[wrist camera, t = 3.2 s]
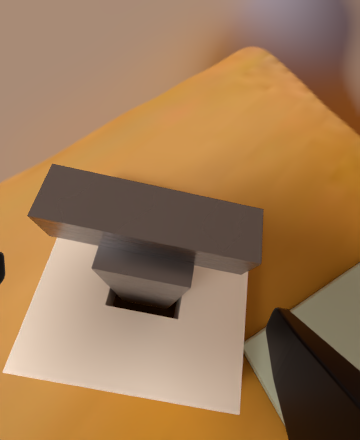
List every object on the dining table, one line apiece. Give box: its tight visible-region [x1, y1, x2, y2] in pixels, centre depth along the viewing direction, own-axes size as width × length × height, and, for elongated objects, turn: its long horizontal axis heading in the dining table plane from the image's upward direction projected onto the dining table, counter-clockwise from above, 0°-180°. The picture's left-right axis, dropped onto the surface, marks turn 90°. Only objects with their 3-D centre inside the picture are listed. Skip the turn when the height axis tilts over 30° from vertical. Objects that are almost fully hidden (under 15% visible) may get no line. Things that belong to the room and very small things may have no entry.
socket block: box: [3, 238, 248, 415], centre depth 16 cm, size 12×12×3 cm
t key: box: [27, 164, 263, 309], centre depth 12 cm, size 3×6×12 cm, turn 80°
